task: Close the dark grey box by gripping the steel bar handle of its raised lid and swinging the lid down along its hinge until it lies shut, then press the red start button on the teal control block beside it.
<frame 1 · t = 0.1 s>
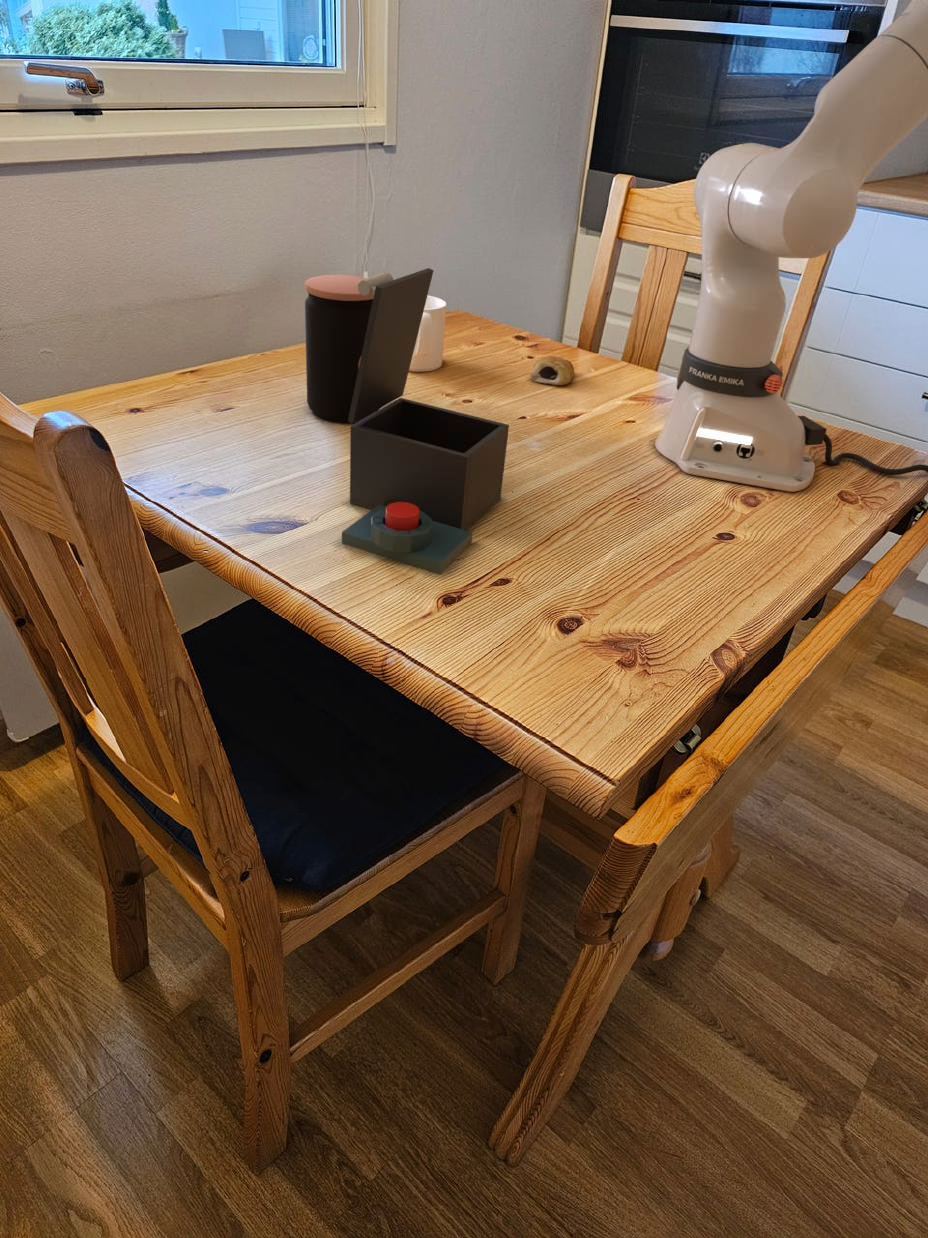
mug: (414, 366, 146), on the table
dark grey box: (426, 502, 103), on the table
start button: (402, 516, 91), point 4 cm above the table, slide at 0.1 cm
coffee jar: (343, 412, 126), on the table
lid: (376, 338, 95), point 18 cm above the table, hinge at 78.0°
control block: (407, 544, 94), on the table
pastry: (552, 379, 146), on the table
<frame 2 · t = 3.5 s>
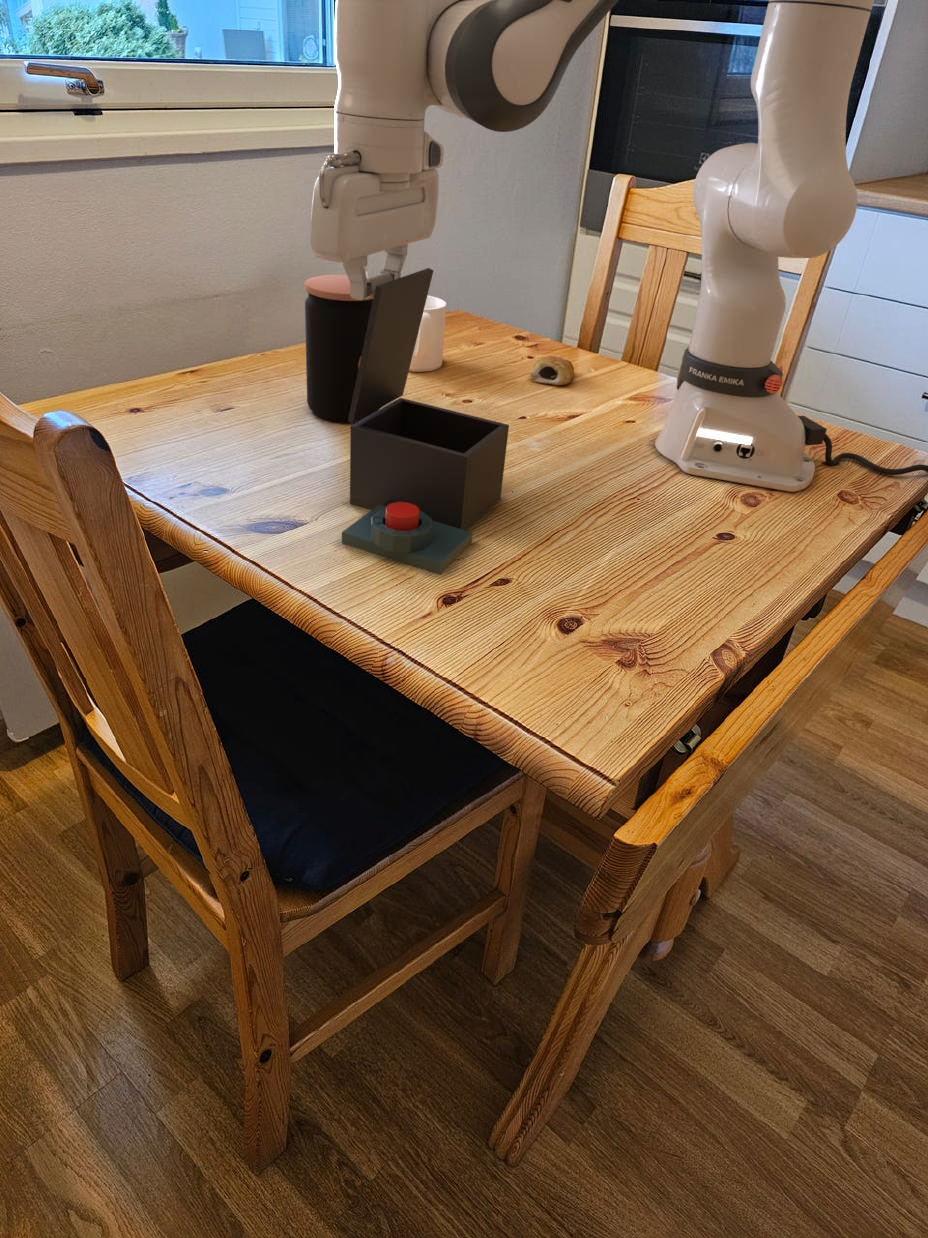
hand: (375, 292, 93), 23 cm above the table, tool pointing down, fingers closed on lid, 5 cm apart
lid: (376, 338, 95), point 18 cm above the table, hinge at 78.0°, touching gripper
everything else where it was.
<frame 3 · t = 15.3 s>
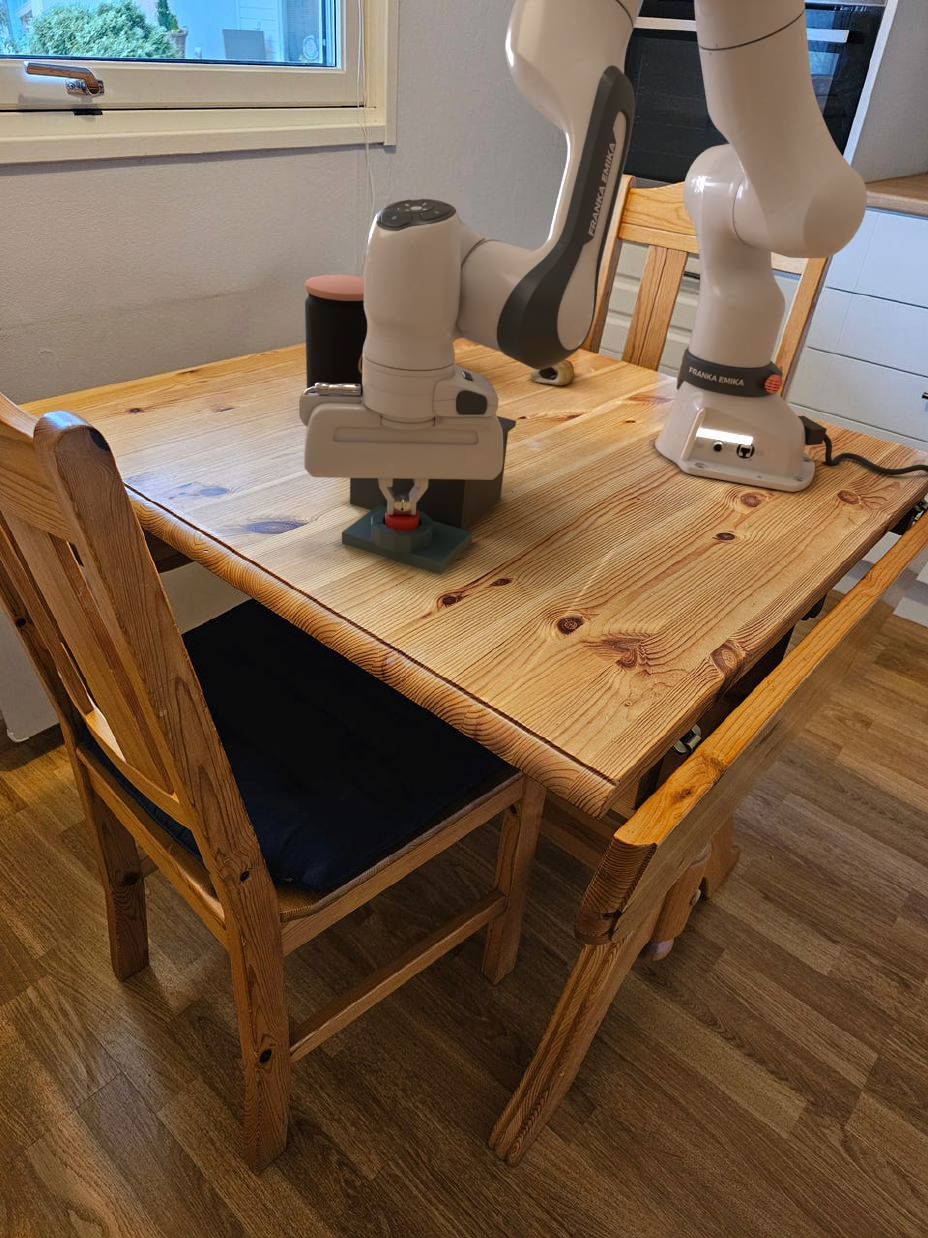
hand: (401, 513, 90), 4 cm above the table, tool pointing down, fingers closed, pressing on start button
start button: (402, 520, 91), point 4 cm above the table, slide at -0.3 cm, touching gripper
lid: (436, 406, 96), point 12 cm above the table, hinge at -0.2°, touching dark grey box
everything else where it was.
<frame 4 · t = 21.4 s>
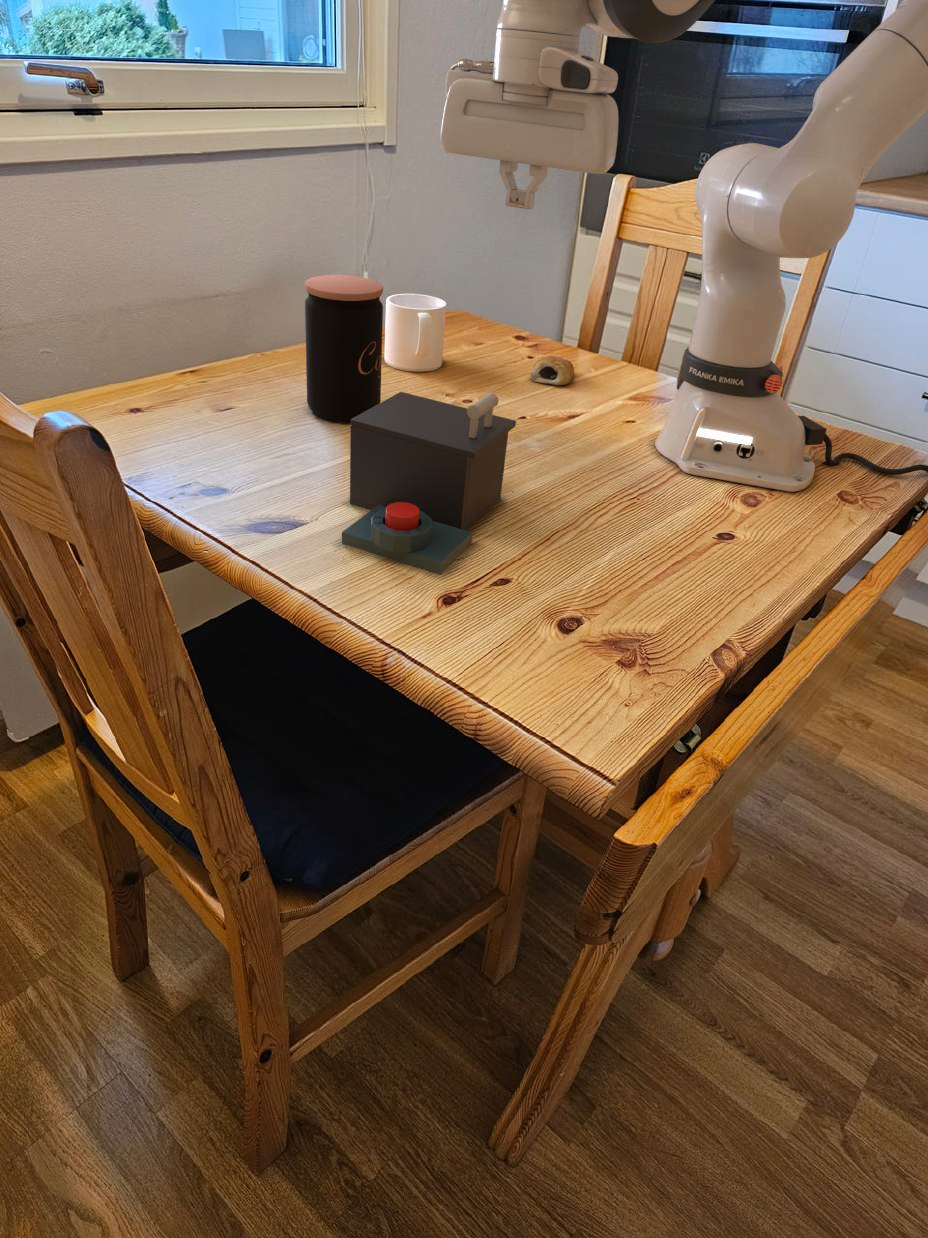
hand: (519, 207, 99), 31 cm above the table, tool pointing down, fingers closed
start button: (402, 516, 91), point 4 cm above the table, slide at 0.1 cm
everything else where it was.
at the end: lid at +0° (first picture: +78°); start button pushed in 1.4 cm at the most during the clip, back to where it started at the end; start button slide at 0.1 cm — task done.
